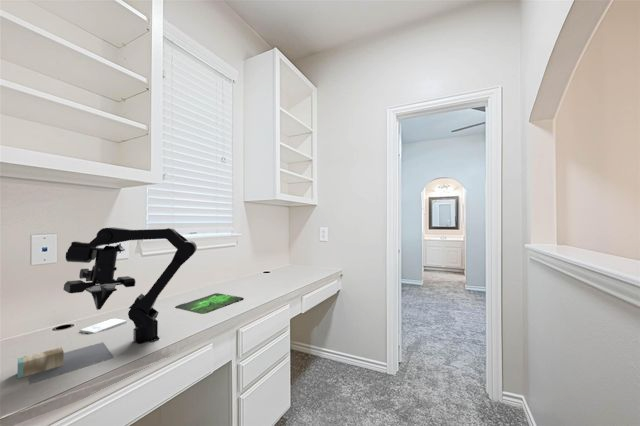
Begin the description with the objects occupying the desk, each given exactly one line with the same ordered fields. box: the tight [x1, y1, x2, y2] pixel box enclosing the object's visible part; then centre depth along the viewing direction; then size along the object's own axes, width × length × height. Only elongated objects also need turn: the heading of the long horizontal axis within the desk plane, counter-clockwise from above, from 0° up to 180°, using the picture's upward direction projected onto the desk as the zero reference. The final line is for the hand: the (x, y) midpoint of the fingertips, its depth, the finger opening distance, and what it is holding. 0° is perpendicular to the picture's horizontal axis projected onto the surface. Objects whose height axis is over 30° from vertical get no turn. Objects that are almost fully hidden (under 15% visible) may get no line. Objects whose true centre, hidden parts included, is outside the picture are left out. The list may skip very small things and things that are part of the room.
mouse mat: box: [174, 292, 244, 315], centre depth 141 cm, size 27×22×1 cm
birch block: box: [16, 347, 65, 379], centre depth 78 cm, size 4×4×9 cm
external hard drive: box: [79, 318, 128, 335], centre depth 109 cm, size 2×8×12 cm
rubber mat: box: [28, 342, 115, 385], centre depth 83 cm, size 18×16×1 cm
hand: (98, 309), depth 93 cm, fingers closed
